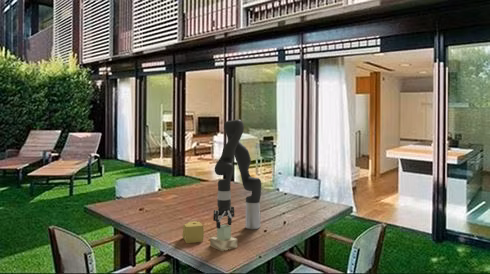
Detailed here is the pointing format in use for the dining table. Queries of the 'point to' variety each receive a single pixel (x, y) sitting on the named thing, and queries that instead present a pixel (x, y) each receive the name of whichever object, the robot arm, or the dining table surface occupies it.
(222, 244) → the birch box
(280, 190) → the dining table surface
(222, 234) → the block
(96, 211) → the dining table surface
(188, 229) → the cheese
